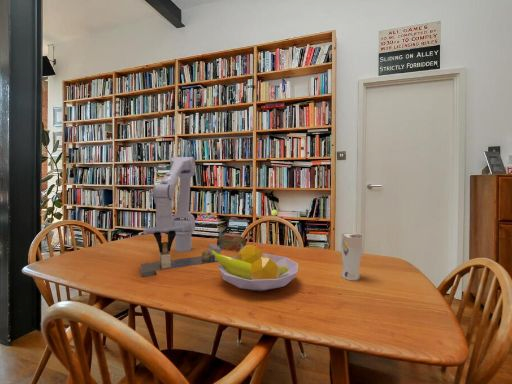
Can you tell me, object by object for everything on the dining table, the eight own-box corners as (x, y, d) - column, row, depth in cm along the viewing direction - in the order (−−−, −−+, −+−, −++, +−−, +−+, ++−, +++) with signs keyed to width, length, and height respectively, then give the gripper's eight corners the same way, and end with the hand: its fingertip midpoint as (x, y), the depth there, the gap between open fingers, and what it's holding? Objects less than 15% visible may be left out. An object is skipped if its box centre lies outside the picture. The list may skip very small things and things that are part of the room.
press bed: (140, 267, 103) (140, 251, 102) (215, 257, 116) (215, 243, 115) (142, 276, 94) (141, 258, 93) (223, 264, 107) (223, 248, 106)
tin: (216, 251, 125) (216, 234, 125) (220, 250, 128) (220, 232, 128) (244, 256, 118) (244, 237, 118) (247, 254, 121) (247, 236, 121)
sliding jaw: (159, 262, 105) (159, 240, 104) (167, 261, 106) (167, 240, 105) (162, 268, 97) (161, 245, 97) (170, 267, 99) (170, 244, 98)
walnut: (200, 258, 110) (200, 249, 109) (209, 257, 111) (209, 248, 111) (203, 261, 106) (203, 251, 106) (212, 259, 108) (211, 250, 108)
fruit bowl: (299, 271, 100) (299, 241, 100) (294, 305, 74) (295, 264, 73) (228, 265, 106) (227, 237, 105) (199, 295, 79) (199, 257, 79)
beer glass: (351, 282, 89) (352, 238, 89) (336, 275, 96) (337, 234, 95) (365, 279, 93) (366, 236, 92) (350, 272, 99) (351, 232, 98)
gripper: (144, 218, 94) (144, 256, 95) (185, 216, 100) (186, 251, 101) (142, 215, 100) (143, 251, 101) (182, 213, 107) (182, 247, 107)
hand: (164, 251), depth 101 cm, fingers closed on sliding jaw, 2 cm apart
